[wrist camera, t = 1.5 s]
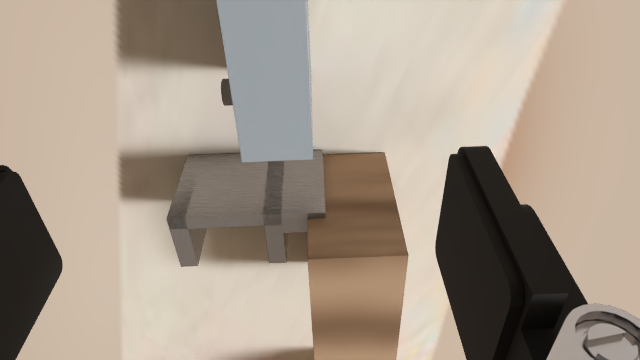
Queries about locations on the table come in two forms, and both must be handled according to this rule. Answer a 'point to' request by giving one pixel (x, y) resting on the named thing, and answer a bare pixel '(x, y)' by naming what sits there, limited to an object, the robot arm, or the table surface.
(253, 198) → the gray wooden bench
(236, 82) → the pale blue tall prism
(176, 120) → the table surface
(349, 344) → the brown tall rectangular block
